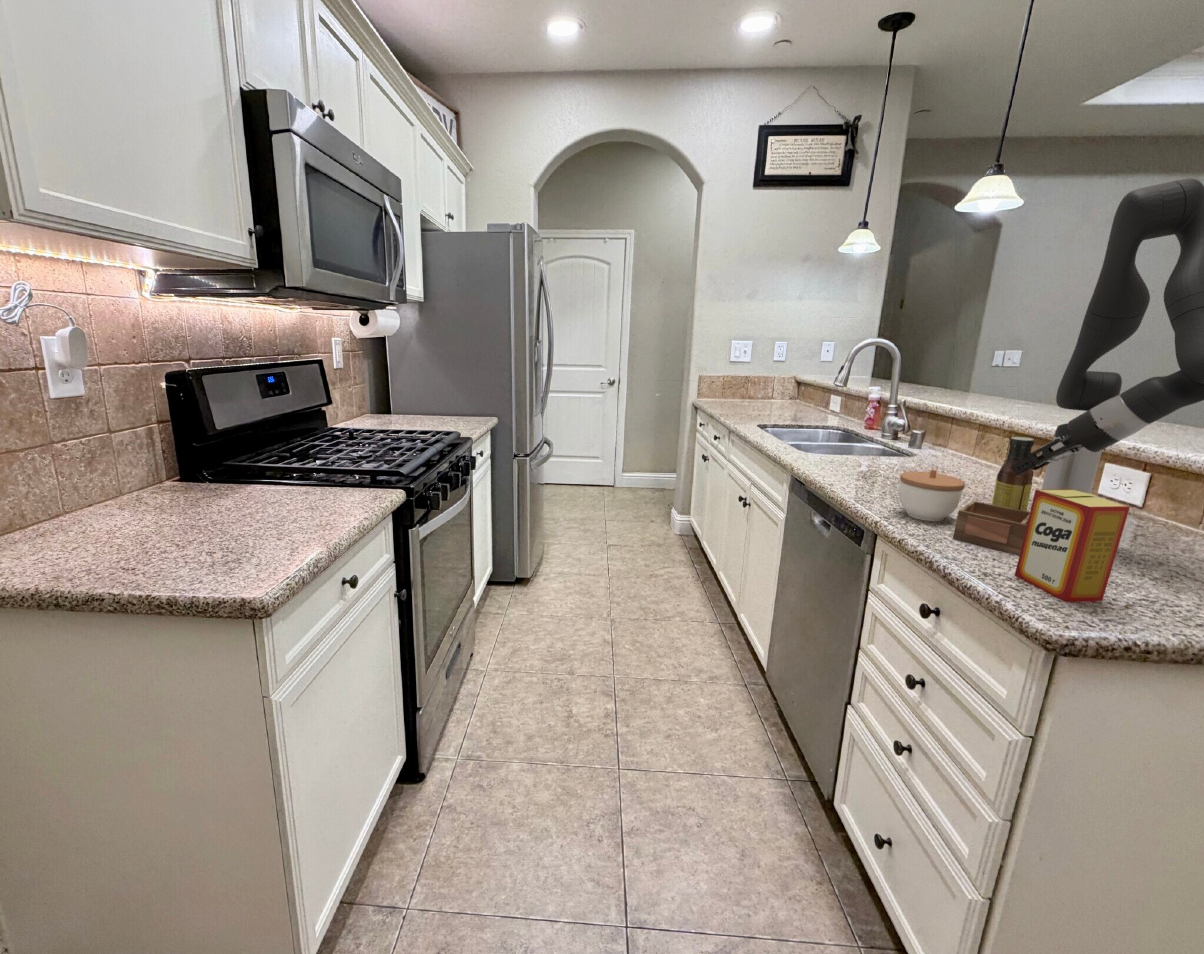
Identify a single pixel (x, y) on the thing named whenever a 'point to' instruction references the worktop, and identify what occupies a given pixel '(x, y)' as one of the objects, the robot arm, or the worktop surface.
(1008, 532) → the wooden compartment tray
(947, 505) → the white lidded bowl
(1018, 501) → the sauce bottle
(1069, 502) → the baking soda box
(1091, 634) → the worktop surface
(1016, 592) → the worktop surface
